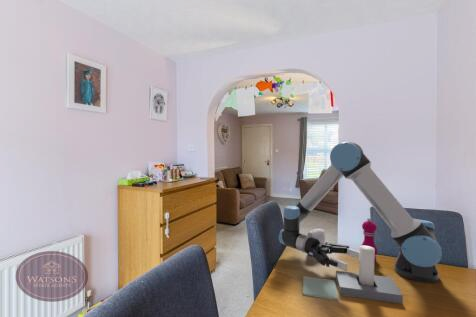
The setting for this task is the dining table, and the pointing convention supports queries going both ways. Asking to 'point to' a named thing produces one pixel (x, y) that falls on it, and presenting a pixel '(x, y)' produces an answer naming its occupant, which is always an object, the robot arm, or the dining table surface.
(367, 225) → the pink bowling pin
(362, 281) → the plug
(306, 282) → the pad
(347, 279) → the grey holed plate
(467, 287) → the dining table surface
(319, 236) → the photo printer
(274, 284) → the dining table surface
